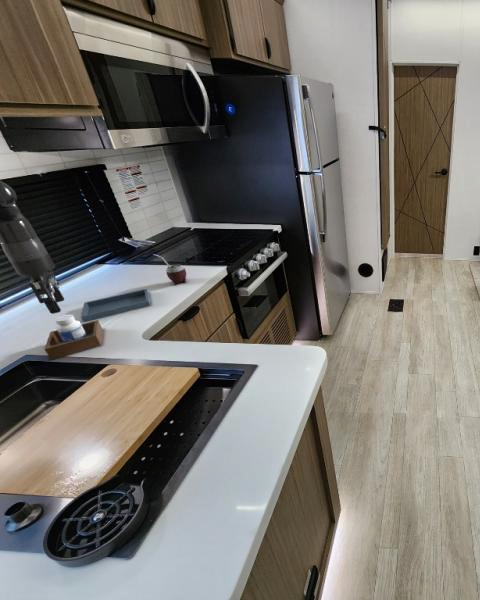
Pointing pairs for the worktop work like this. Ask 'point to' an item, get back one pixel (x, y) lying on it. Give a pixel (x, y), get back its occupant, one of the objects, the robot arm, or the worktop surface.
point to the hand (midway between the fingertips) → (58, 306)
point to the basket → (74, 341)
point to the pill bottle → (70, 328)
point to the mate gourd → (175, 272)
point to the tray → (115, 305)
